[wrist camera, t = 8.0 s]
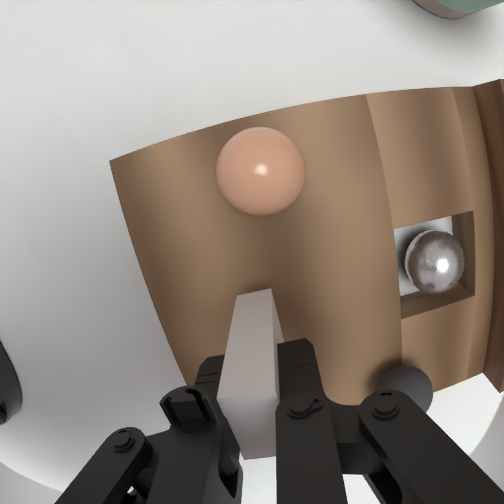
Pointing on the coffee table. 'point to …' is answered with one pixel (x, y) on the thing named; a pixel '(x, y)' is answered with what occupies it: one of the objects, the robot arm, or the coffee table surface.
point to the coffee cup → (455, 7)
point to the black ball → (408, 384)
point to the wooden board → (335, 236)
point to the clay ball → (260, 171)
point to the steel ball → (434, 261)
